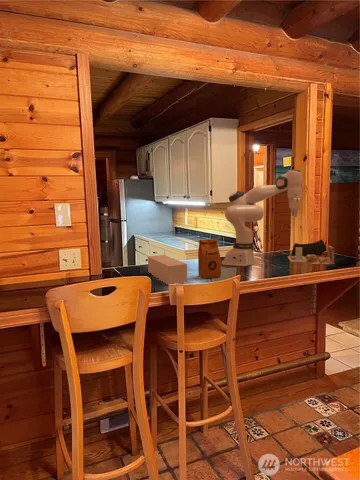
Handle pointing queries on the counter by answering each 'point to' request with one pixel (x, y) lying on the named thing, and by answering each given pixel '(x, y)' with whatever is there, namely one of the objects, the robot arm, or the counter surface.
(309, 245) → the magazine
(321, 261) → the rack
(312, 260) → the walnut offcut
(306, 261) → the tray
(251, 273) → the counter surface
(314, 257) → the oak offcut
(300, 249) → the board
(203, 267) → the coffee package
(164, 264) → the pinkish brown block
